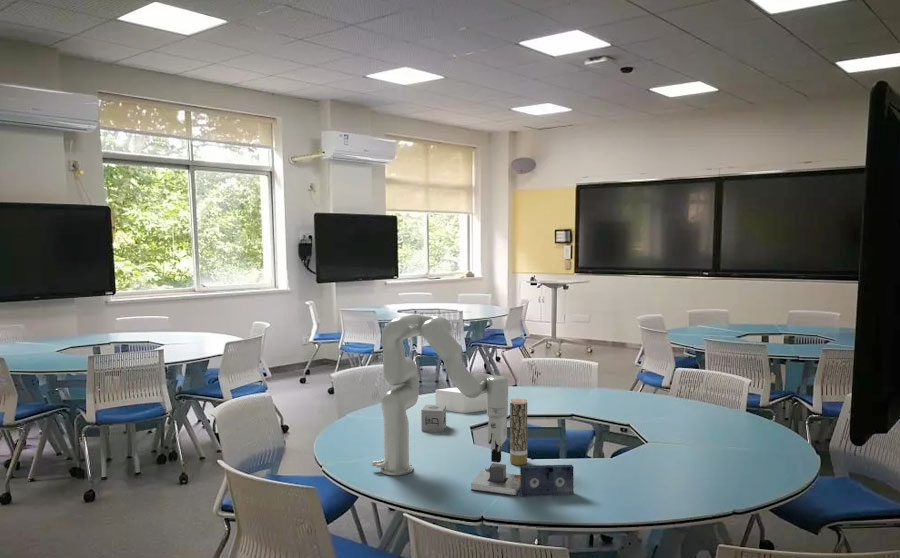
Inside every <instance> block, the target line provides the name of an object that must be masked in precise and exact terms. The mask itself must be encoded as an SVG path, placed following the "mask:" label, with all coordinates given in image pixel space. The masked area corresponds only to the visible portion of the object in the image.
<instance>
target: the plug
mask: <svg viewBox="0 0 900 558" xmlns="http://www.w3.org/2000/svg"><path fill="white" fill-rule="evenodd" d="M484 471H485V472H490V482H497V483H504V484H505V483H506V474H507V464H505V463H504V464H502V463H497V462H492V463H491V464H490V466H489V467H485V469H484Z"/></svg>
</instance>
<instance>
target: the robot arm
mask: <svg viewBox="0 0 900 558" xmlns="http://www.w3.org/2000/svg"><path fill="white" fill-rule="evenodd" d="M413 337H422V338H423V339H424V340H425V342H426V343H428V345H429V346H430V347H431V349H433V351H434V352H435V353H436V354H437V355H438V357H439V358H440V359H441V361H442V362H443V363H444V366H445V370H446V373H447V375H448V377H449V379H450V381H451V382H452V384H453V385H454V386H455V388H456V387H457V388H458V389H459V391H460V392H461V393H462V394H463V395H465V396H466V397H468V398H476V397H478V396H480V395H481V394H484V393H487V410H486V416H487V417H488V425H487V444H488V445H490V450H491V451H490V452H491V455H490V461H491V462H492V463H497V464H501V463H500V462H501V461H502V445H503V444H505V442H506V441H507V439H508V420H507V417H508V415H509V379H508V377H506V376H504V375H492V374H489V373H486V372H475V373H474V374H472V373H471V372H470V371H469V370H468V369H467V367H466V366H465V364H464V361H463V358H462V356H463V355H462V353H463V348H462V346H461V345H460V343H459V342H458V341H457V340H456V339H455V338H454V337H453V335H452V324H451V322H450V321H449V320H448V319H447V318H445V317H443V316H435V315H425V314H417V313H415V314H408V315H404V316H400V317H397V318H396V317H395V318H393V319H392V320H390V321H389V322H387V323H386V324H385V325H384V327H383V329H382V331H381V344H382V345H381V346H382V363H383V378H384V381H385V382H386V384H388V385H389V386H392V387H393V386H396V387H394V388H392V389H389V390H388V391H387V392H385V393H384V395H383V396H382V398H381V404H380V405H381V410H382V416H383V440H384V441H383V445H384V446H383V453H384V454H383V455H384V456H383V457H382V459H380V460H372V462H371V463H372V464H371V465H372V467H376V468H380V472H381V473H382V474H384V475H388V476H403V475H407V474H410V473H411V472H413V470H414V465H413V464H412V463H410V426H409V418H408V415H407V410H409V409H411V408H412V407H414V406H416V404H417V402H418V399H419V374H418V366H417V363H416V362H415V361H414V360H413V359H412V358H410V357H408V356H406V347H405V345H404V342H403V341H404V340H407V339H410V338H413Z"/></svg>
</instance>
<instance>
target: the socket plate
mask: <svg viewBox="0 0 900 558" xmlns="http://www.w3.org/2000/svg"><path fill="white" fill-rule="evenodd" d="M470 491H473V492H480V493H488V494H495V495H501V496H508V497H509V496H510V497H517V494H518V493H519V492H520V474H515V473H514V474H513V473H512V474H511V473H506V483H505V484H504V483H497V482H490V472H485V470H481V471H480V472H479V473H478V474H477V476H475V478H474V479H473V480H472V482H471V483H470Z"/></svg>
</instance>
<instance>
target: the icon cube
mask: <svg viewBox="0 0 900 558" xmlns="http://www.w3.org/2000/svg"><path fill="white" fill-rule="evenodd" d="M420 412H421V414H420V415H421V432H432V433H434V432H435V433H443V432H444V430H445V429H446V427H447V411H446V405H436V404H425V405H424V406H423V407H422V408H421V411H420Z"/></svg>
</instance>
